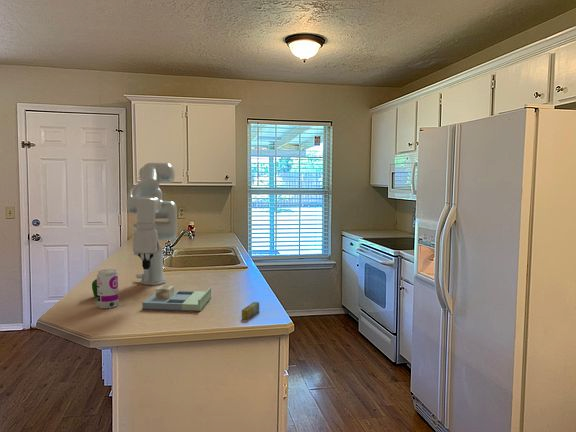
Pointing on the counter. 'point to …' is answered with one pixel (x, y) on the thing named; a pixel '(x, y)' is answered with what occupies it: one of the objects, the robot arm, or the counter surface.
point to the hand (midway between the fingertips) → (146, 268)
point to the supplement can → (107, 288)
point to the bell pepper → (94, 287)
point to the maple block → (165, 292)
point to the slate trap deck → (179, 301)
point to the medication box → (250, 310)
